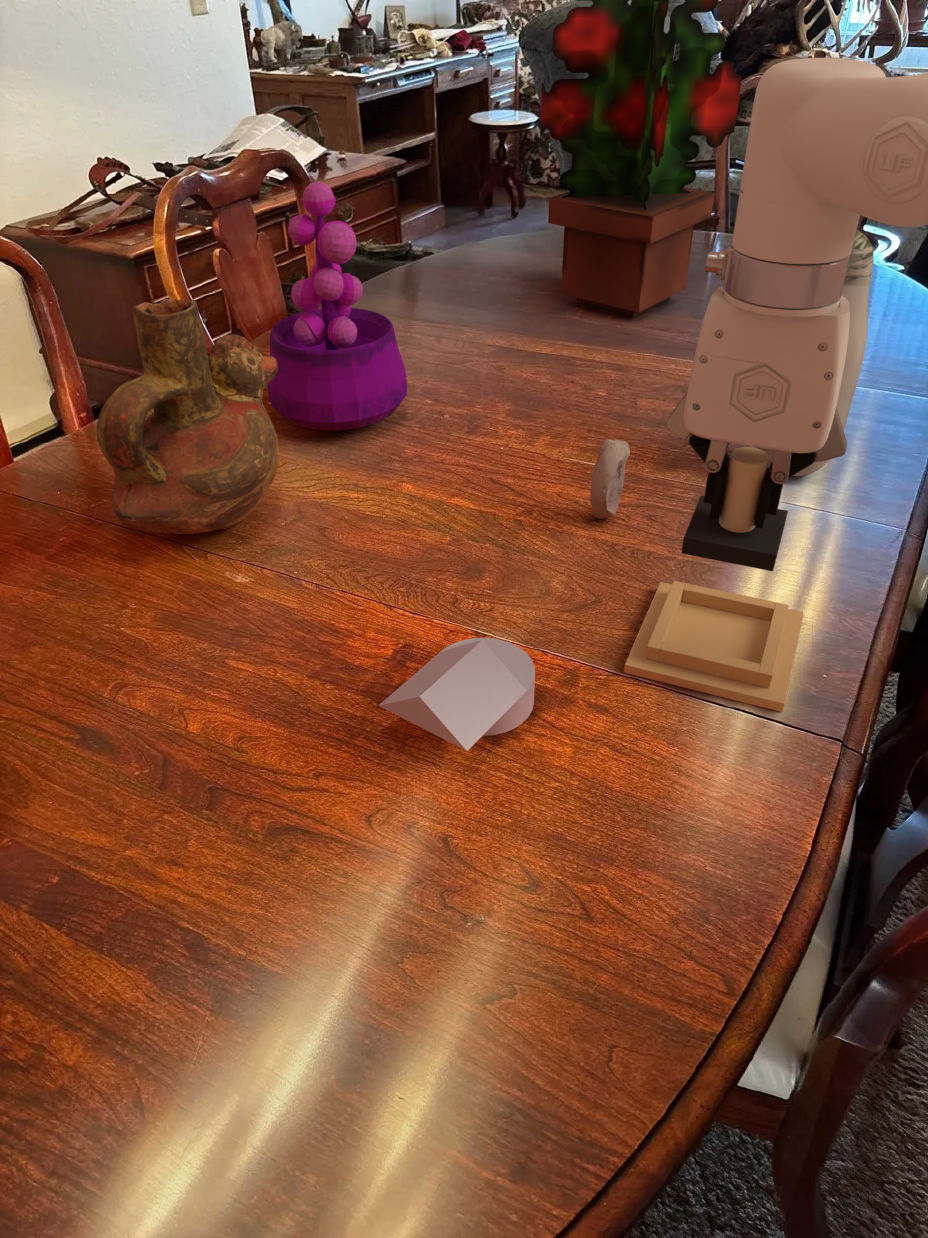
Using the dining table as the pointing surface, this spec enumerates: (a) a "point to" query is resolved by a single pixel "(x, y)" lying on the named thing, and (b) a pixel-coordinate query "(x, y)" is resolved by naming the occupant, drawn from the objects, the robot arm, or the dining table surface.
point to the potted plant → (634, 146)
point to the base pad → (718, 644)
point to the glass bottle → (850, 331)
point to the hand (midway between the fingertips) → (738, 513)
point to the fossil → (608, 477)
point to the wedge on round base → (468, 691)
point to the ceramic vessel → (189, 427)
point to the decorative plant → (333, 336)
